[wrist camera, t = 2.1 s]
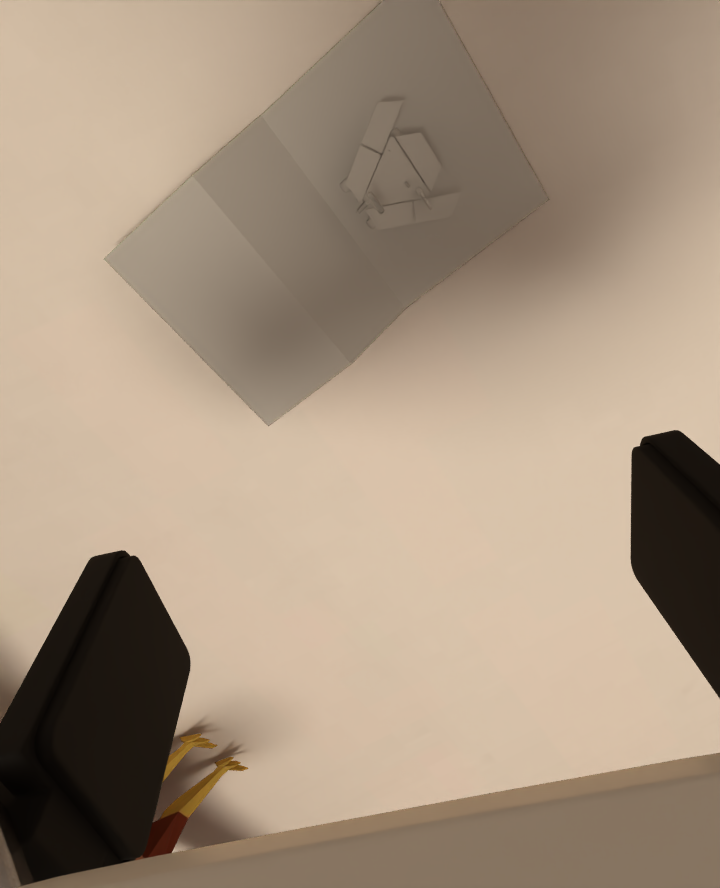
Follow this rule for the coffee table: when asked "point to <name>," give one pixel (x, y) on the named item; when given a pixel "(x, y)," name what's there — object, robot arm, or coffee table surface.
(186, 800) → the decorative bird
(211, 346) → the white pop-up card
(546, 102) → the coffee table surface
